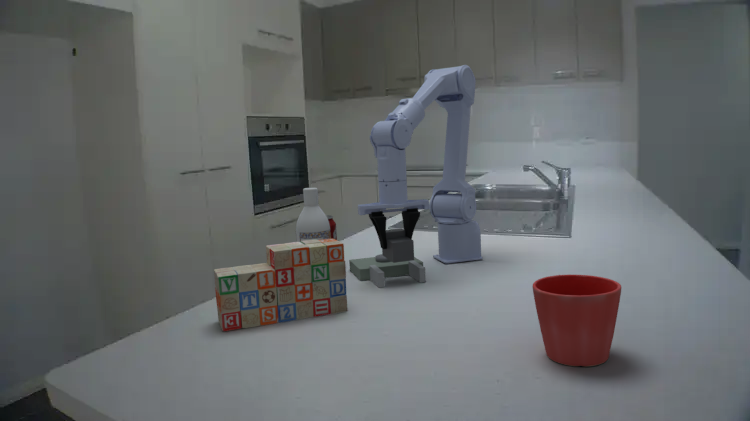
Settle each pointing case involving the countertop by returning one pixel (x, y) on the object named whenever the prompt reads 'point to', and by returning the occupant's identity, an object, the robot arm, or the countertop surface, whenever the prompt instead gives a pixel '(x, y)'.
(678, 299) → the countertop surface
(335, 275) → the stack of blocks
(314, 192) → the bath foam
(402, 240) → the grey block with ledge
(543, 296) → the flower pot
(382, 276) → the forked grey-green block
